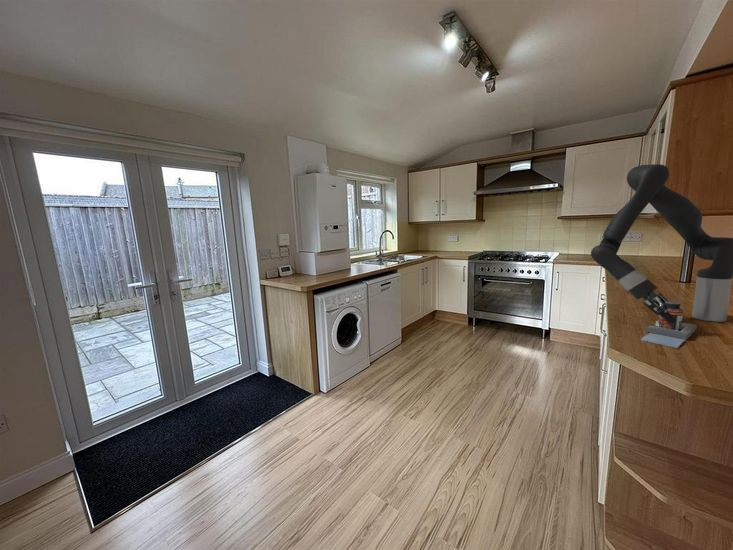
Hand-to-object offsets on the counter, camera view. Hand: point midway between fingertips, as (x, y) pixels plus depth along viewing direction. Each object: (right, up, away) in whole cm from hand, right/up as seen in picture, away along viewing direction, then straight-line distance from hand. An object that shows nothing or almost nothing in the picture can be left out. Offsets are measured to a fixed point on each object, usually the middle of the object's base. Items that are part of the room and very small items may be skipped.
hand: (676, 320), depth 107 cm
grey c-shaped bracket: (+2, -4, +3) cm, 6 cm away
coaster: (-11, -6, -5) cm, 13 cm away
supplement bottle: (-1, -5, +2) cm, 5 cm away
